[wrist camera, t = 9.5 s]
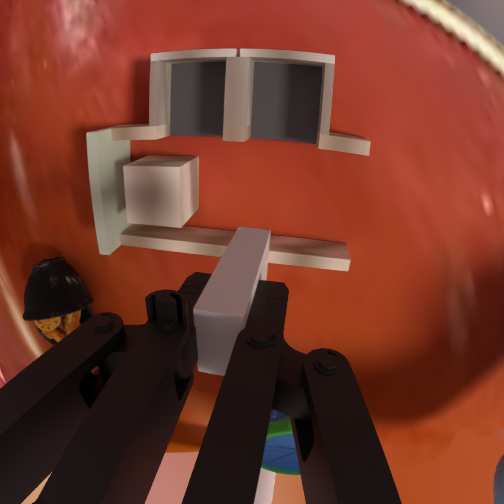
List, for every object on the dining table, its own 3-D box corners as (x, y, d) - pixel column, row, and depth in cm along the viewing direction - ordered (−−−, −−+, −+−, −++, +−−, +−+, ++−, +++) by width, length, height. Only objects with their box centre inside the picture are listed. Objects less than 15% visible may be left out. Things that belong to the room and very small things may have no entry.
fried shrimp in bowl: (65, 254, 25) (116, 422, 27) (98, 247, 36) (131, 378, 38) (-5, 270, 24) (47, 425, 26) (38, 260, 35) (73, 384, 37)
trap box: (368, 67, 19) (385, 59, 15) (344, 253, 26) (351, 285, 22) (120, 63, 21) (86, 60, 17) (127, 230, 29) (99, 254, 24)
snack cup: (383, 375, 32) (395, 449, 23) (332, 420, 37) (332, 485, 28) (263, 328, 31) (247, 409, 22) (225, 382, 36) (206, 452, 27)
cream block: (199, 156, 25) (179, 167, 21) (199, 208, 27) (181, 227, 23) (149, 155, 25) (123, 165, 21) (151, 204, 27) (127, 223, 23)
